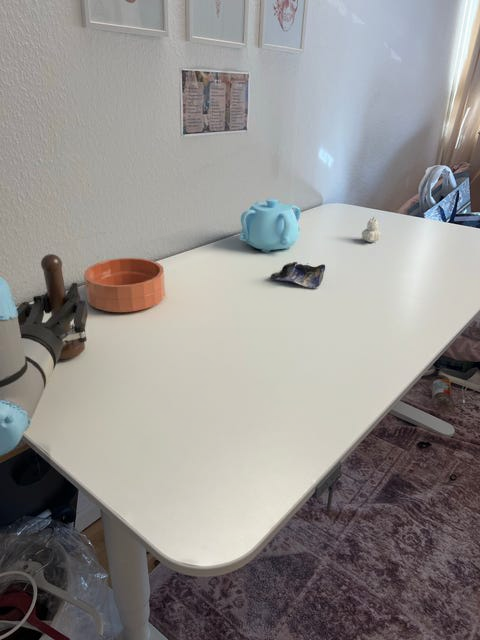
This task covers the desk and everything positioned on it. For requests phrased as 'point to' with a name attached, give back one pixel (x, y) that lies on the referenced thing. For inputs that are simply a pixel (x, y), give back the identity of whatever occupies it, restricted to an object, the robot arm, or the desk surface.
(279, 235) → the decorative pot
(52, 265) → the muddler
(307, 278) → the snack package
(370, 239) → the cream small figurine
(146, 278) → the bowl
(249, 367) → the desk surface
